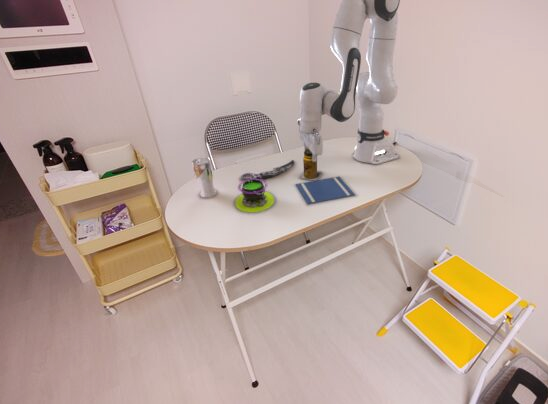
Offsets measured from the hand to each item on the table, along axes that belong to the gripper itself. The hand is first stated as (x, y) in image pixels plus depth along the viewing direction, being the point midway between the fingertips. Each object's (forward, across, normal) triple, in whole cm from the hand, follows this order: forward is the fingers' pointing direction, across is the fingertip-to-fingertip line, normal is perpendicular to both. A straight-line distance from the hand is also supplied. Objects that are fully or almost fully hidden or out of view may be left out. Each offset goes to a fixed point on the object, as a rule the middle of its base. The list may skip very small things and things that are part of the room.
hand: (310, 156), depth 131 cm
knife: (+10, +9, +16) cm, 21 cm away
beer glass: (+10, -1, +44) cm, 46 cm away
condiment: (+10, 0, -1) cm, 10 cm away
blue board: (+9, -14, -2) cm, 17 cm away
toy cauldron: (+10, -13, +27) cm, 32 cm away
